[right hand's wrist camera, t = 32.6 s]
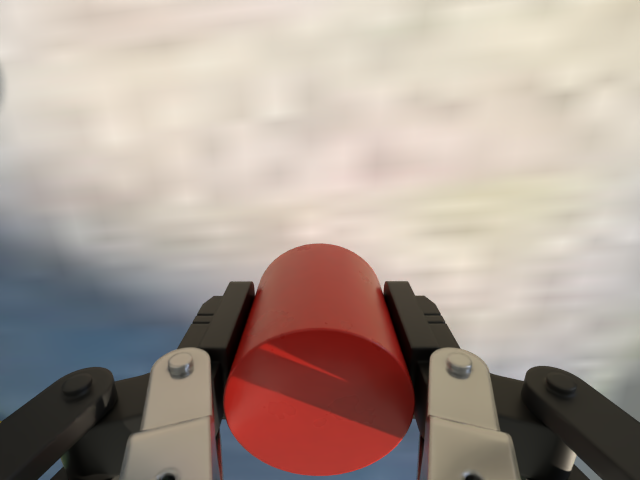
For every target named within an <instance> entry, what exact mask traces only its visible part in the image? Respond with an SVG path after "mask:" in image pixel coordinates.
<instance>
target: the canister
mask: <svg viewBox="0 0 640 480" xmlns="http://www.w3.org/2000/svg"><path fill="white" fill-rule="evenodd" d="M223 407H224V414H225V418H226V421H227V424H228V426H229V428H230V430H231V432H232V434H233V435H234V437H235V438H236V439H237V441H238V442H239V443H240V444H241V445H242V446H243V447H244V448H245V449H246V450H247V451H248V452H249V453H251V454H252V455H253V456H254V457H256V458H258V459H259V460H261V461H262V462H264V463H266V464H268V465H270V466H272V467H275V468H278V469H280V470H284V471H287V472H291V473H296V474H302V475H312V476H328V475H337V474H343V473H348V472H351V471H355V470H358V469H361V468H363V467H366V466H368V465H370V464H372V463H374V462H376V461H378V460H379V459H381V458H382V457H384V456H385V455H387V454H388V453H389V452H390V451H391V450H393V449H394V448H395V447H396V446H397V445H398V443H399V442H400V441H401V440H402V439H403V437H404V436H405V434H406V432H407V431H408V429H409V427H410V424H411V422H412V418H413V415H414V410H415V392H414V388H413V384H412V380H411V377H410V374H409V371H408V368H407V365H406V362H405V359H404V356H403V353H402V350H401V347H400V344H399V341H398V338H397V335H396V332H395V329H394V326H393V323H392V320H391V317H390V314H389V310H388V307H387V304H386V301H385V298H384V295H383V292H382V289H381V286H380V283H379V281H378V278H377V276H376V274H375V273H374V271H373V269H372V268H371V267H370V266H369V264H368V263H367V262H366V261H364V260H363V259H362V258H361V257H360V256H358V255H357V254H355V253H354V252H352V251H350V250H348V249H345V248H342V247H340V246H335V245H331V244H309V245H303V246H300V247H296V248H294V249H291V250H289V251H287V252H285V253H284V254H282V255H281V256H279V257H278V258H277V259H275V260H274V261H273V262H272V263H271V264H270V265H269V267H268V268H267V269H266V271H265V272H264V274H263V276H262V278H261V280H260V283H259V286H258V289H257V292H256V295H255V298H254V301H253V304H252V307H251V310H250V313H249V316H248V319H247V322H246V325H245V328H244V331H243V334H242V337H241V340H240V343H239V346H238V348H237V351H236V354H235V357H234V360H233V363H232V366H231V369H230V372H229V375H228V378H227V381H226V384H225V389H224V394H223Z"/></svg>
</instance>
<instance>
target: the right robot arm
mask: <svg viewBox="0 0 640 480" xmlns="http://www.w3.org/2000/svg"><path fill="white" fill-rule="evenodd" d="M383 295H384V298H385V301H386V304H387V307H388V310H389V314H390V317H391V320H392V323H393V326H394V329H395V332H396V335H397V338H398V341H399V344H400V347H401V350H402V353H403V356H404V359H405V362H406V365H407V368H408V371H409V374H410V377H411V380H412V384H413V388H414V392H415V410H414V415H413V418H412V419H416V422H417V425H418V428H419V431H420V435H419V445H418V462H417V478H416V480H590V479H589V478H588V477H587V476H586V475H585V474H584V473H583V472H582V471H580V470H579V469H578V468H577V467H576V466H575V465H574V461H575V458H576V456H578V457H579V458H580V459H582V460H583V461H584V462H585V463H586V464H587V465H588V466H589V467H590V468H591V469H592V470H593V471H594V472H595V473H596V474H597V475H598V476H599V477H600V478H601V479H602V480H640V422H638V421H637V420H636V419H634V418H633V417H631V416H630V415H629V414H627V413H626V412H625V411H623V410H622V409H621V408H619V407H618V406H617V405H615V404H614V403H613V402H611V401H610V400H609V399H607V398H606V397H605V396H603V395H602V394H600V393H599V392H598V391H596V390H595V389H594V388H592V387H591V386H590V385H588V384H587V383H586V382H584V381H583V380H581V379H580V378H578V377H577V376H575V375H573V374H571V373H569V372H567V371H564V370H561V369H558V368H554V367H549V366H537V367H533V368H531V369H529V370H528V371H527V373H526V376H525V379H524V381H520V380H516V379H511V378H507V377H502V376H498V375H494V374H491V373H490V372H489V369H488V367H487V365H486V364H485V362H484V361H483V360H482V359H481V358H479V357H478V356H476V355H475V354H473V353H471V352H469V351H466V350H463V349H460V347H459V345H458V343H457V342H456V340H455V338H454V336H453V335H452V333H451V331H450V329H449V328H448V326H447V324H445V321H444V319H443V317H442V316H441V313H440V312H439V310H438V308H437V306H436V305H435V304H434V303H433V302H432V301H430V300H429V299H428V298H426V297H425V296H415V295H414V293H413V291H412V289H411V286H410V284H409V283H408V281H386V282H385V284H384V294H383ZM254 298H255V291H254V284H253V282H230V283H229V285H228V287H227V289H226V291H225V293H224V295H223V296H213V297H212V298H211V299H209V300H208V301H207V302H205V303H204V304H203V305H202V307H201V308H200V310H199V312H198V314H197V316H196V317H195V319H194V320H193V324H191V326H190V327H189V329H188V331H187V333H186V334H185V336H184V338H183V340H182V341H181V343H180V345H179V346H178V348H177V350H174V351H171V352H169V353H167V354H165V355H164V356H162V357H161V358H159V359H158V360H157V361H156V362H155V364H154V365H153V367H152V369H151V372H150V373H147V374H145V375H141V376H137V377H133V378H128V379H124V380H119V381H115V382H114V378H113V375H112V373H111V371H109V370H108V369H106V368H102V367H90V368H84V369H81V370H77V371H75V372H72V373H70V374H68V375H66V376H64V377H62V378H60V379H59V380H57V381H56V382H54V383H53V384H52V385H50V386H49V387H48V388H46V389H45V390H44V391H42V392H41V393H40V394H38V395H37V396H35V397H34V398H33V399H31V400H30V401H29V402H27V403H26V404H25V405H23V406H22V407H21V408H19V409H18V410H17V411H15V412H14V413H12V414H11V415H10V416H8V417H7V418H6V419H4V420H3V421H2V422H0V480H38V479H39V478H40V477H41V476H42V475H43V474H44V473H45V472H46V471H47V470H48V469H49V468H50V467H51V466H52V465H53V464H54V463H55V462H56V461H57V460H58V459H60V458H61V461H62V463H63V466H64V467H63V468H62V469H61V470H59V471H58V472H57V473H56V474H55V475H54V476H53V477H52V478H51V479H50V480H224V478H223V462H222V445H221V435H220V428H219V427H220V424H221V420H222V419H226V418H225V414H224V407H223V394H224V389H225V384H226V381H227V378H228V375H229V372H230V369H231V366H232V363H233V360H234V357H235V354H236V351H237V348H238V346H239V343H240V340H241V337H242V334H243V331H244V328H245V325H246V322H247V319H248V316H249V313H250V310H251V307H252V304H253V301H254Z"/></svg>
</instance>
